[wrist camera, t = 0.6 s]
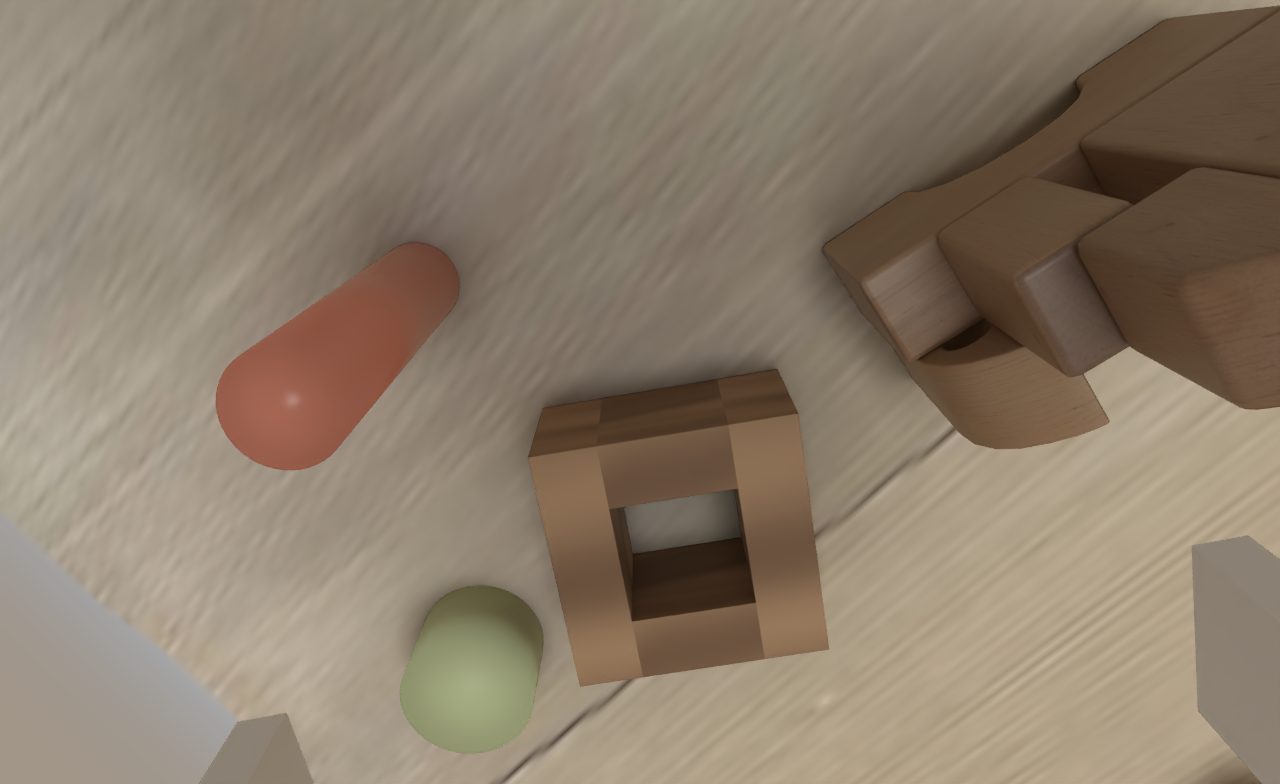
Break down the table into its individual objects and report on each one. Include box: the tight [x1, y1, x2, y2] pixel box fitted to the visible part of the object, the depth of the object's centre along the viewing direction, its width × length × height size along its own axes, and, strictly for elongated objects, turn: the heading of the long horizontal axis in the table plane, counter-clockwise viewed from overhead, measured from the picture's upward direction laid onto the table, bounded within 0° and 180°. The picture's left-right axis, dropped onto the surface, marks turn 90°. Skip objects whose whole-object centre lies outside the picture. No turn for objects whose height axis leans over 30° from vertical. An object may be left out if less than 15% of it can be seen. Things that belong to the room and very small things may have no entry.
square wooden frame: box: [528, 370, 829, 687], centre depth 35 cm, size 9×9×5 cm
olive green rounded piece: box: [400, 586, 543, 753], centre depth 38 cm, size 5×5×4 cm
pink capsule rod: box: [216, 243, 459, 470], centre depth 28 cm, size 3×3×14 cm
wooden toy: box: [823, 6, 1280, 449], centre depth 22 cm, size 15×7×25 cm, turn 125°
